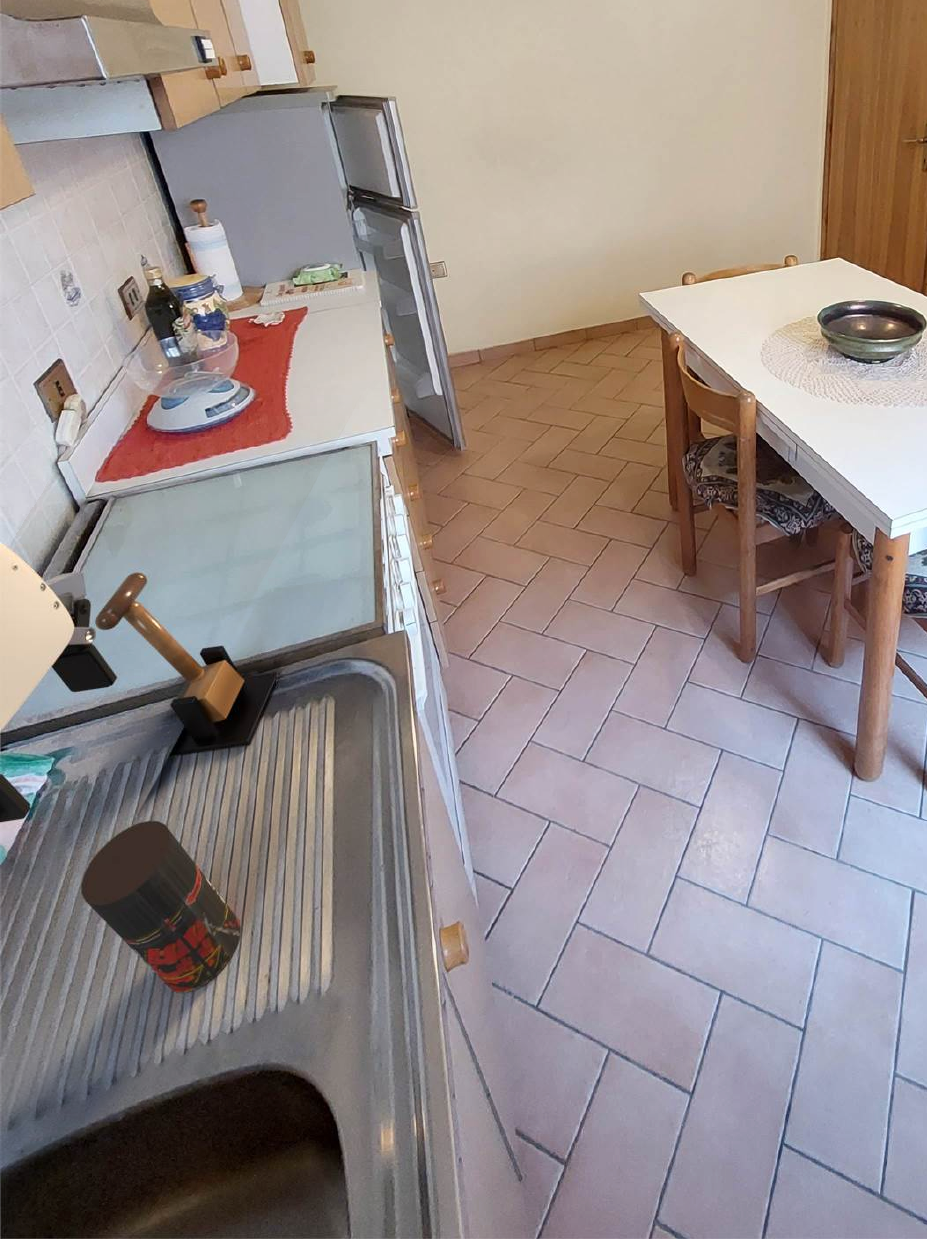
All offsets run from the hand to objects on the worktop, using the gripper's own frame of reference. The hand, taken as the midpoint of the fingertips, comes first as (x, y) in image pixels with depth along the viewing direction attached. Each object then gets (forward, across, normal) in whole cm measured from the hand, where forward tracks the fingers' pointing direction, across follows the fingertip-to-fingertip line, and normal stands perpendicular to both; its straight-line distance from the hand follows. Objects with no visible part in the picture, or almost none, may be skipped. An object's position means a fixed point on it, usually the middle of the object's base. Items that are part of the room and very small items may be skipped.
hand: (54, 746), depth 50 cm
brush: (+17, -23, -13) cm, 31 cm away
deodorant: (+28, +1, 0) cm, 28 cm away
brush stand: (+28, -23, -9) cm, 37 cm away
